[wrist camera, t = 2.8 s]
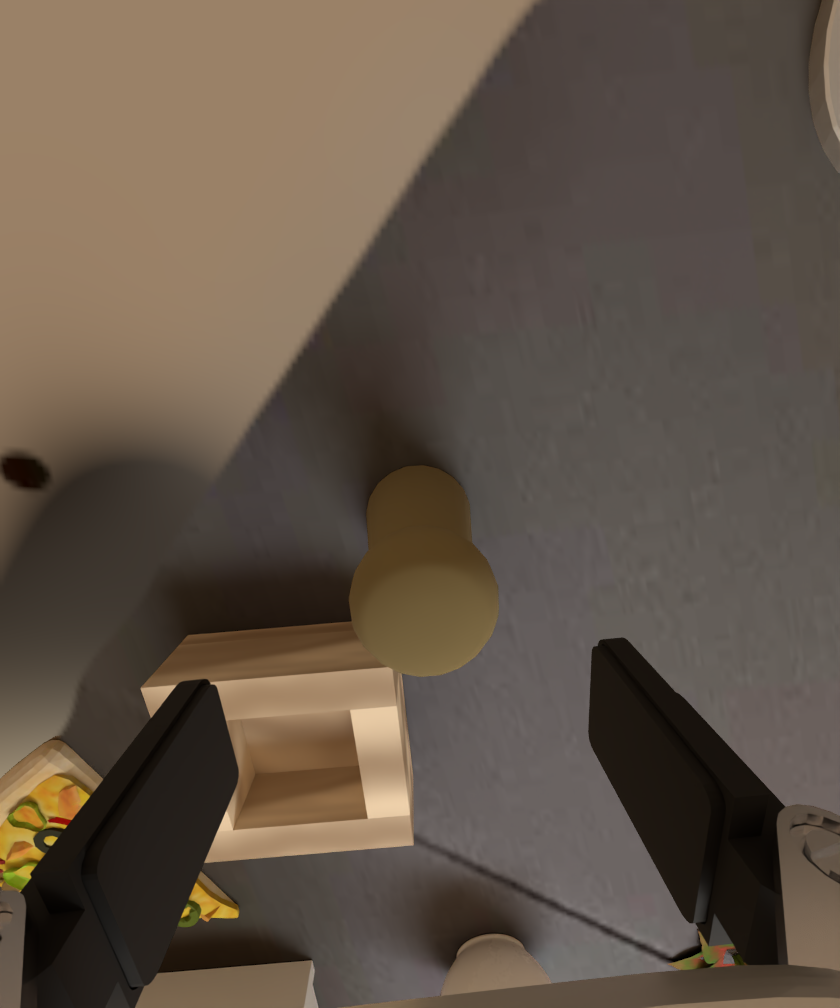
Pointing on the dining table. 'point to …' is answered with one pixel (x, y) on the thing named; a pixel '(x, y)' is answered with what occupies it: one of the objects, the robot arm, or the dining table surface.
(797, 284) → the dining table surface
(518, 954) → the lidded jar
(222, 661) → the caddy
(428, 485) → the cork
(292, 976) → the white rectangular frame
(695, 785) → the robot arm
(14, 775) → the pizza slice
